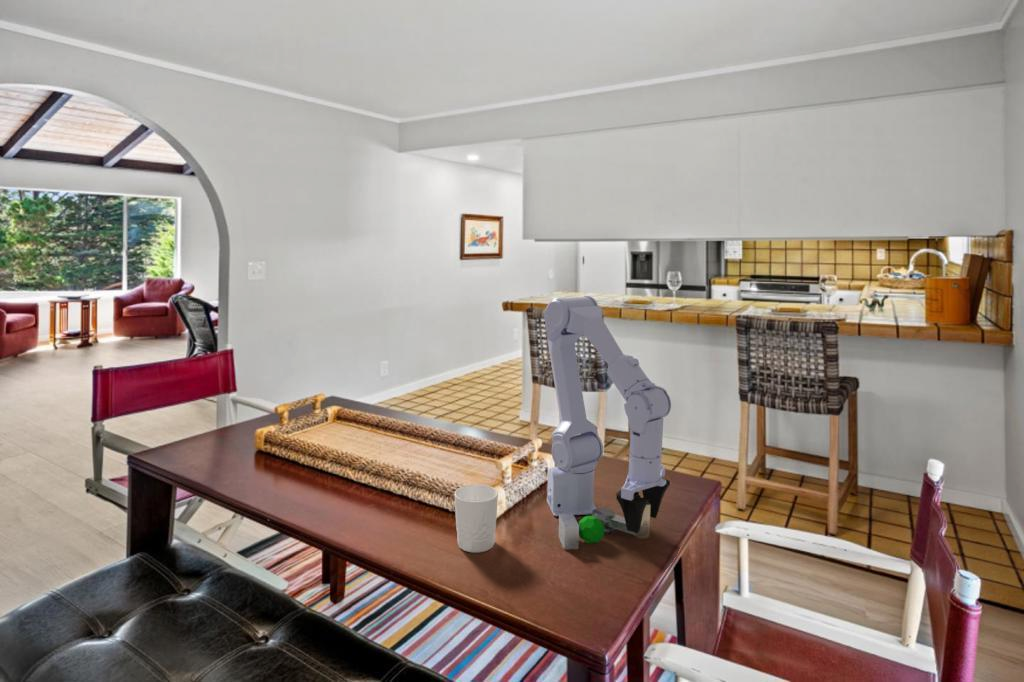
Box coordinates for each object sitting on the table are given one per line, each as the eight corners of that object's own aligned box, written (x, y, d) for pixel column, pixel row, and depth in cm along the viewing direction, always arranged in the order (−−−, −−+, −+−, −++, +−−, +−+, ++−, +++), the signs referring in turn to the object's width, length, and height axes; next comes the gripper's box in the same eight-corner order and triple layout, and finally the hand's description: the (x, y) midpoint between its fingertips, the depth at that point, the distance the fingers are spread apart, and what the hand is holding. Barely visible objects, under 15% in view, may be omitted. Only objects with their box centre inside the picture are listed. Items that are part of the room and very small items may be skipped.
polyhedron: (581, 549, 111) (582, 524, 111) (573, 536, 116) (574, 512, 115) (608, 546, 112) (608, 522, 112) (599, 534, 117) (599, 510, 116)
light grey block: (564, 549, 111) (564, 526, 110) (558, 536, 116) (559, 514, 115) (578, 548, 111) (579, 525, 111) (571, 535, 116) (572, 513, 116)
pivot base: (594, 535, 117) (594, 530, 117) (588, 524, 121) (588, 519, 121) (618, 533, 117) (618, 528, 117) (610, 522, 122) (611, 518, 122)
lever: (587, 523, 119) (588, 493, 118) (598, 515, 122) (599, 486, 121) (643, 541, 112) (644, 509, 111) (653, 532, 115) (654, 501, 114)
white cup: (497, 533, 117) (497, 484, 115) (497, 554, 109) (498, 501, 107) (455, 533, 117) (455, 484, 115) (453, 555, 109) (453, 502, 107)
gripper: (649, 470, 104) (645, 545, 106) (681, 447, 115) (677, 515, 117) (611, 460, 108) (608, 533, 110) (646, 440, 119) (643, 505, 121)
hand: (642, 523), depth 114 cm, fingers open, 7 cm apart
